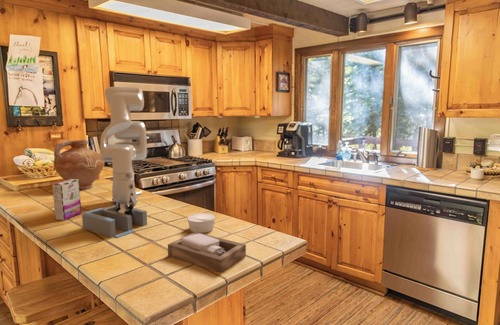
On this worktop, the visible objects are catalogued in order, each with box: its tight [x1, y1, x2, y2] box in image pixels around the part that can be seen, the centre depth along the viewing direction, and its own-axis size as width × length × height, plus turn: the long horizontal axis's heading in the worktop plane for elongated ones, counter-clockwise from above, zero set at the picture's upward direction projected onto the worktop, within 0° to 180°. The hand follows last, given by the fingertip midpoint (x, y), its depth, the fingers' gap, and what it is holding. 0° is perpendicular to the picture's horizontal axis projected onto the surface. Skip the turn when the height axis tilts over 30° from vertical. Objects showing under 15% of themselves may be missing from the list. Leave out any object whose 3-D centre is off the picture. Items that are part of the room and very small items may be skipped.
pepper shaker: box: [118, 203, 126, 214], centre depth 142 cm, size 4×4×10 cm
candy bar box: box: [51, 179, 83, 221], centre depth 151 cm, size 11×5×16 cm, turn 168°
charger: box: [181, 233, 226, 256], centre depth 112 cm, size 5×9×15 cm
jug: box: [53, 139, 106, 190], centre depth 206 cm, size 28×28×30 cm
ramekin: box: [187, 212, 216, 234], centre depth 137 cm, size 11×11×5 cm
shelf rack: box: [81, 204, 148, 239], centre depth 139 cm, size 18×20×7 cm
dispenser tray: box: [167, 232, 247, 273], centre depth 112 cm, size 14×22×4 cm, turn 59°
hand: (124, 217), depth 142 cm, fingers closed on pepper shaker, 4 cm apart
